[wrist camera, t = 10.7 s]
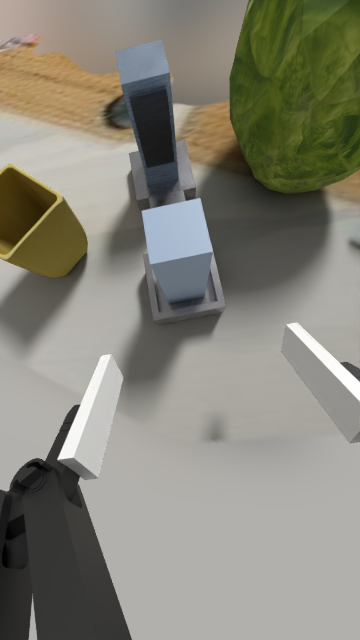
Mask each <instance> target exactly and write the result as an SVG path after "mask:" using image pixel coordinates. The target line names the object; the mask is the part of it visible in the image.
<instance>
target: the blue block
mask: <svg viewBox="0 0 360 640" xmlns="http://www.w3.org/2000/svg"><path fill="white" fill-rule="evenodd" d="M142 217H143V223H144V229H145V236H146V242H147V249H148V255H149V261H150V266H151V268H152V270H153V272H154V274H155V276H156V278H157V280H158V282H159V284H160V286H161V288H162V290H163V292H164V294H165V296H166V298H167V300H168V302H169V303H175V302H180V301H185V300H190V299H195V298H200V297H205V293H206V287H207V281H208V276H209V270H210V265H211V259H212V254H213V250H212V246H211V242H210V237H209V233H208V229H207V225H206V220H205V216H204V212H203V208H202V203H201V199H200V198H198V199H193V200H189V201H184V202H180V203H175V204H170V205H166V206H161V207H156V208H152V209H147V210H143V211H142Z"/></svg>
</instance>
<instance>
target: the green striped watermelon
mask: <svg viewBox="0 0 360 640" xmlns="http://www.w3.org/2000/svg"><path fill="white" fill-rule="evenodd" d="M230 120H231V123H232V126H233V129H234V132H235V135H236V137H237V140H238V142H239V145H240V148H241V150H242V153H243V155H244V158H245V160H246V161H247V163H248V164H249V166H250V167H251V170H252V172H253V175H254V178H255V179H257V180H258V181H259V182H260V183H262V184H263V185H264V186H265V187H266V188H268V189H269V190H273V191H278V192H282V193H287V194H292V193H300V192H308V191H314V190H317V189H320V188H322V187H325V186H328V185H330V184H333V183H336V182H338V181H341V180H343V179H345V178H346V177H348V176H350V175H351V174H353V173H355V172H356V171H358V170H359V169H360V0H249V2H248V5H247V10H246V13H245V17H244V21H243V25H242V29H241V32H240V36H239V40H238V44H237V48H236V53H235V59H234V63H233V67H232V70H231V74H230Z"/></svg>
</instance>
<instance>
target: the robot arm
mask: <svg viewBox="0 0 360 640" xmlns="http://www.w3.org/2000/svg"><path fill="white" fill-rule="evenodd" d="M281 353H282V354H283V355H284V357H285V358H286V359H287V361H288V362H289V363H290V365H291V366H292V367H293V369H294V370H295V371H296V373H297V374H298V375H299V377H300V378H301V379H302V381H303V382H304V383H305V385H306V386H307V387H308V389H309V390H310V391H311V393H312V394H313V395H314V397H315V398H316V399H317V401H318V402H319V403H320V405H321V406H322V407H323V409H324V410H325V411H326V413H327V414H328V415H329V417H330V418H331V419H332V421H333V422H334V423H335V425H336V426H337V427H338V429H339V430H340V431H341V433H342V434H343V435H344V437H345V438H346V439H347V441H348V442H349V443H355V442H360V369H359V368H357V367H355V366H354V365H352V364H350V363H348V362H342V363H339V362H338V361H337V360H336V359H335V358H334V357H333V356H332V355H331V354H330V353H328V352H327V351H326V350H325V349H324V348H323V347H322V346H321V345H320V344H319V343H318V342H317V341H316V340H315V339H314V338H313V337H312V336H310V335H309V334H308V333H307V332H306V331H305V330H304V329H303V328H302V327H301V326H300V325H299V324H298V323H291V324H286V327H285V333H284V338H283V343H282V348H281ZM123 378H124V377H123V376H122V374H121V372H120V370H119V368H118V366H117V364H116V362H115V360H114V359H113V357H112V355H111V354H109V355H103V356H101V358H100V360H99V363H98V365H97V367H96V370H95V372H94V374H93V377H92V379H91V382H90V384H89V386H88V389H87V391H86V393H85V396H84V398H83V400H82V403H81V404H80V405H75V406H74V407H72V409H71V410H70V411H69V413H68V414H67V416H66V418H65V420H64V422H63V425H62V426H61V428H60V432H59V433H58V435H57V437H56V439H55V441H54V443H53V446H52V448H51V450H50V452H49V454H48V456H47V458H46V460H45V461H43V460H42V459H39V458H36V459H32V460H30V461H29V462H27V463H26V464H25V465H24V466H22V467H21V468H20V469H19V471H18V472H17V473H16V475H15V476H14V478H13V480H12V482H11V484H10V490H9V491H7V492H6V491H3V490H0V640H28V639H29V628H30V616H31V604H32V593H33V601H34V611H35V621H36V630H37V640H132V639H131V636H130V633H129V630H128V627H127V624H126V621H125V618H124V615H123V612H122V609H121V607H120V603H119V600H118V598H117V594H116V592H115V589H114V586H113V583H112V580H111V577H110V574H109V571H108V568H107V565H106V562H105V559H104V556H103V553H102V550H101V548H100V545H99V542H98V539H97V536H96V533H95V530H94V527H93V524H92V521H91V518H90V516H89V512H88V509H87V506H86V504H85V501H84V498H83V495H82V492H81V489H80V486H79V485H78V481H79V478H80V477H82V478H83V479H84V480H88V479H95V478H99V475H100V471H101V466H102V463H103V459H104V455H105V450H106V446H107V442H108V438H109V434H110V430H111V426H112V422H113V417H114V414H115V410H116V406H117V402H118V398H119V394H120V390H121V386H122V382H123Z"/></svg>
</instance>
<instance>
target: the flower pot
mask: <svg viewBox="0 0 360 640" xmlns="http://www.w3.org/2000/svg"><path fill="white" fill-rule="evenodd" d="M87 246H88V243H87V237H86V234H85V231H84V229H83V227H82V225H81V224H80V222H79V221H78V219H77V217H76V216H75V214H74V213H73V211H72V210H71V208H70V207H69V205H68V203H67V202H66V200H65V199H64V197H63V196H62V195H61V194H60V193H58V192H57V191H55V190H53V189H52V188H50V187H48V186H47V185H45V184H43V183H42V182H40V181H39V180H37V179H35V178H34V177H32V176H31V175H29V174H27V173H26V172H24V171H23V170H21V169H20V168H18V167H16V166H15V165H13V164H11V163H9V164H8V165H6V166H5V167H4V168H3V169H2V170H0V258H1V259H2V260H4V261H7V262H9V263H11V264H14V265H16V266H19V267H22V268H24V269H27V270H29V271H32V272H34V273H37V274H39V275H42V276H46V277H62V276H65V275H67V274H68V273H69V272H70V271H71V270H72V268H73V267H74V266H75V265H76V264H77V262H78V261H79V260H80V259H81V258H82V257H83V256H84V254H85V253H86V252H87Z"/></svg>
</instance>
